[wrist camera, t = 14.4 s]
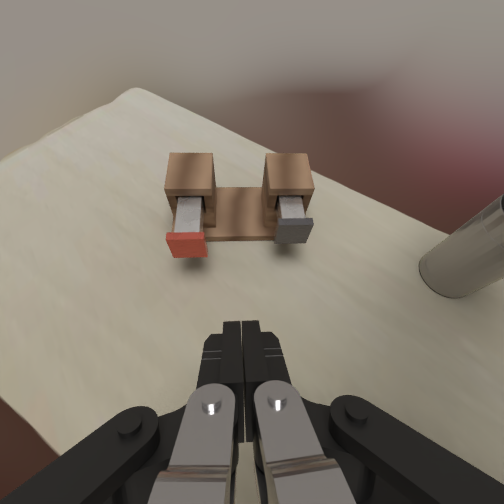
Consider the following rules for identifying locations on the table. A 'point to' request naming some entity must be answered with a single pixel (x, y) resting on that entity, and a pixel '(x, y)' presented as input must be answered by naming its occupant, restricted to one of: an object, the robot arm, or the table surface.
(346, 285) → the table surface
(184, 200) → the red plug
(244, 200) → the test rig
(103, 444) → the robot arm
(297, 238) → the charcoal plug
